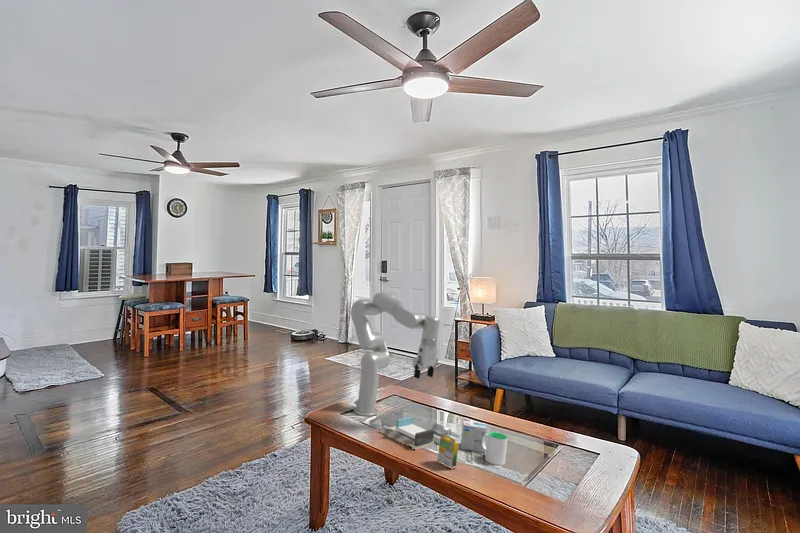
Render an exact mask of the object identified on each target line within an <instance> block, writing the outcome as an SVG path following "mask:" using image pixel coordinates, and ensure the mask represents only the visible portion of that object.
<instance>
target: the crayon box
mask: <svg viewBox="0 0 800 533" xmlns="http://www.w3.org/2000/svg"><path fill="white" fill-rule="evenodd" d="M446 437H448V436H446V435H444V434H442V433H441V437H440V444H438V445H439V447H438V456H437V462H438V461H439V462H441V463H444V464H445V465H447V466H450V467H453V466H456V467H457V460H458V451H459V443H458V442H457V441H455V439H453V438H451V437H448V438H449V439H448V438H446Z"/></svg>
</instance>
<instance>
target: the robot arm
mask: <svg viewBox="0 0 800 533" xmlns="http://www.w3.org/2000/svg"><path fill="white" fill-rule="evenodd" d="M372 298H373V299H368V298H367V299H365V298H364V299H363V298H362V299H358V300H355V302H353V304H352V306H351V308H350V309H351V310H350V318H351V321H352V323H353V326H354V329H355V333H356V337H357V341H358V344H359V347H360V348H361V350H363V351H367V352H365V353H364V354H363V355H362V356H361V358H360V382H359V387H358V388H359V390H358V397H357V399H356V400H355V401H354V402H353V404H354V405H355V407H354V408H353V412H354V413H355V414H357V415H360V416H364V417H373V416H376V415H377V414H378V413H379V412H378V409H376V403H377V398H378V397H377V395H378V386H379V373H378V370H382V369H385V368H387V367H389V365H390V361H391V358H390V353H389V349H388V347H387V343H386V339H385V337H384V335H383V334H381V332H378V331H373V329H372V327H371V326H372V325H371V322H370V321H369V319H368V318H367V316H378V315H380V314H383V313H384V312H385V313H387V314H389V315H391V316H392V317H393V318H394V320H395V321H396V322H398V323H399V324H401V325H403V326H404V327H406V328H408V329H411V330H412V329H422V332H421V338H420V339H421V340H420V345H419V347H418V351H417V354H416V355H417V356H416V358H414V359H413V360H412V364H413V367H414V374H413V377H414V378H416V379H420V377H421V369H422V367H428V368H427V373H426V376H427V377H430V378H433V377H434V370H435V369H436V366H437V363H438V361H439V359H438V346H437V342H438V336H439V329H440V324H441V320H440V318H439V317H436V316H432V315H428V314H426V313H421V312H411V311H409V310H407V309H405V308H404V304H403V301H400V300H399V299H398V298H397V296H396V295H395V294H394V293H391V292H384V291H381V292H377V293H375V294H374V296H373V297H372Z"/></svg>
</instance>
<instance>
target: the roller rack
mask: <svg viewBox="0 0 800 533" xmlns="http://www.w3.org/2000/svg"><path fill="white" fill-rule="evenodd" d="M450 430H451V435H450V437H451V438H453V439H455V442H457V441H460V440H461V433H458V432H456V431H454V430H452V429H450ZM448 439H449V438H448ZM459 439H460V440H459ZM433 441H434V443H436V444H438V445H440V436H438V435H436V434H434V436H433Z"/></svg>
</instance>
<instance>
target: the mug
mask: <svg viewBox="0 0 800 533" xmlns="http://www.w3.org/2000/svg"><path fill="white" fill-rule="evenodd" d="M485 437H486V446H485ZM482 447H483V449H484V450H485V458H484V459H485V461H486V462H487V463H489V464H492V465H495V466H503V465H505V463H506V456H507V447H508V436H507V435H506V434H503V433H502V432H496V431H490V432H487V434H485V435H483V437H482Z"/></svg>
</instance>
